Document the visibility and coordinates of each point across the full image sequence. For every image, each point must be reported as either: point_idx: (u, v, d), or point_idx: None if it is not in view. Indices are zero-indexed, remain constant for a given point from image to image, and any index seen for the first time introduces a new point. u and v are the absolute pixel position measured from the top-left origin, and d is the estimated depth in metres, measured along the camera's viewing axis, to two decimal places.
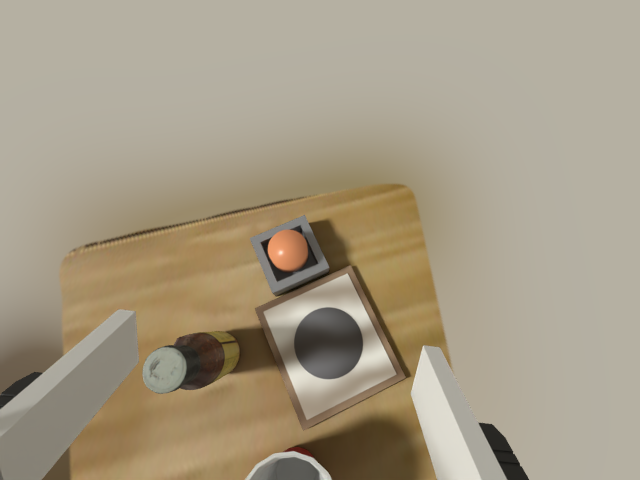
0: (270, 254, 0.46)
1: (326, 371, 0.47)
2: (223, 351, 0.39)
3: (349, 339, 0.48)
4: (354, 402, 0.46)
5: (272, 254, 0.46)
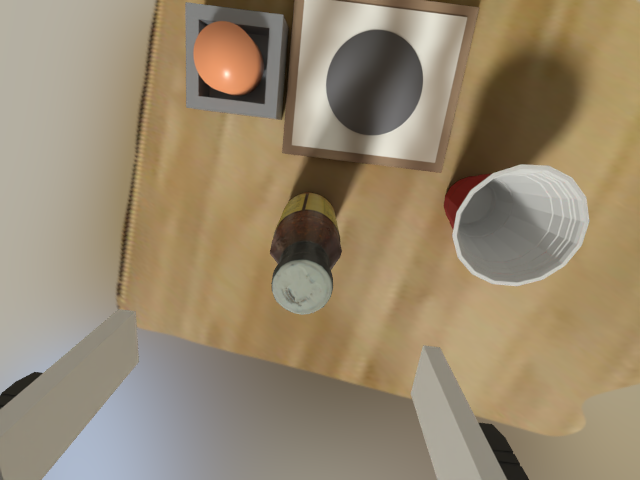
0: (222, 88, 0.30)
1: (403, 109, 0.35)
2: (314, 211, 0.30)
3: (388, 54, 0.33)
4: (456, 96, 0.35)
5: (223, 85, 0.30)
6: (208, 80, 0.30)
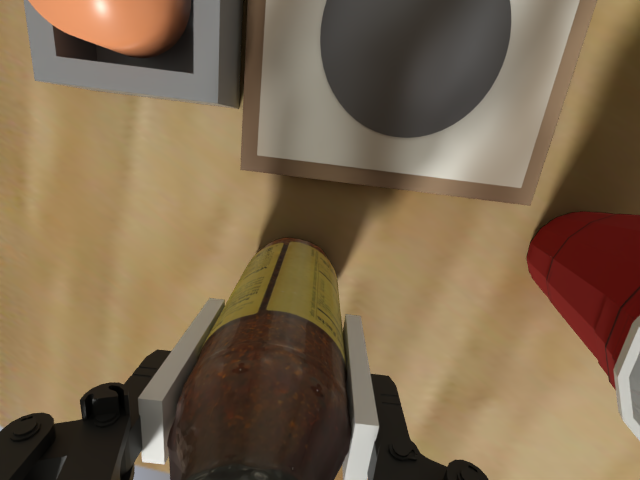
0: (82, 31, 0.13)
1: (469, 87, 0.18)
2: (287, 315, 0.13)
3: None
4: (572, 63, 0.18)
5: (84, 24, 0.13)
6: (49, 12, 0.13)
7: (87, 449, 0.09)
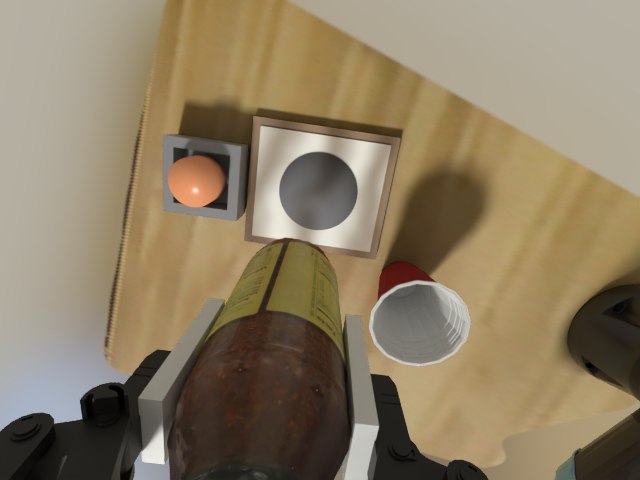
0: (190, 204, 0.38)
1: (342, 211, 0.43)
2: (286, 315, 0.13)
3: (328, 170, 0.41)
4: (385, 202, 0.43)
5: (191, 202, 0.38)
6: (179, 198, 0.38)
7: (87, 449, 0.09)
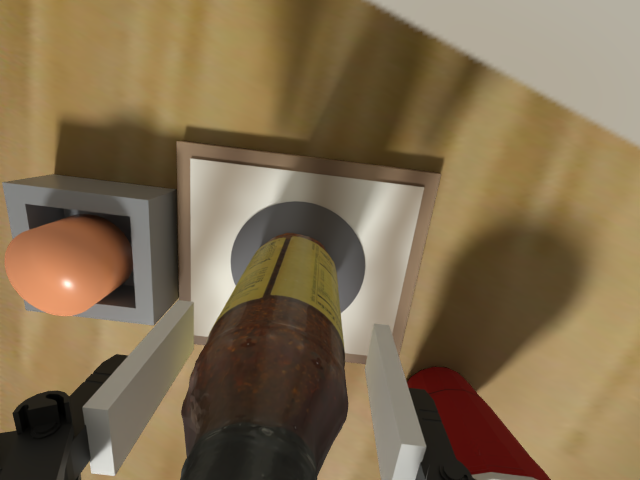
0: (55, 311, 0.20)
1: (340, 296, 0.25)
2: (289, 299, 0.14)
3: (314, 231, 0.24)
4: (413, 281, 0.25)
5: (56, 308, 0.20)
6: (34, 301, 0.20)
7: (24, 463, 0.08)
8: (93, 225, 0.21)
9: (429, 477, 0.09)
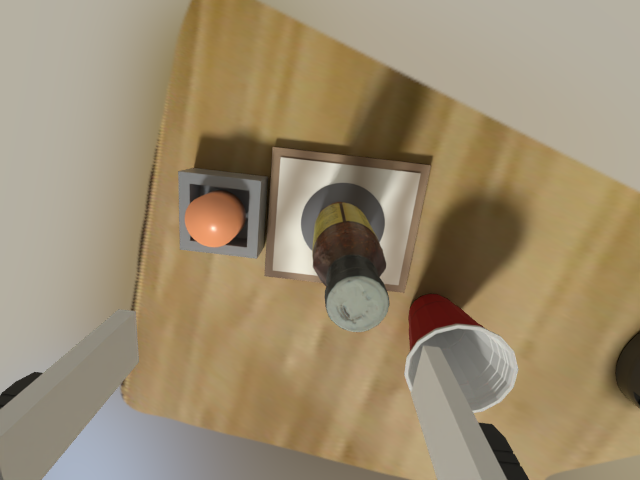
0: (209, 244, 0.36)
1: None
2: (355, 222, 0.29)
3: (353, 201, 0.39)
4: (415, 233, 0.40)
5: (210, 242, 0.35)
6: (197, 238, 0.35)
7: None
8: (228, 195, 0.36)
9: None
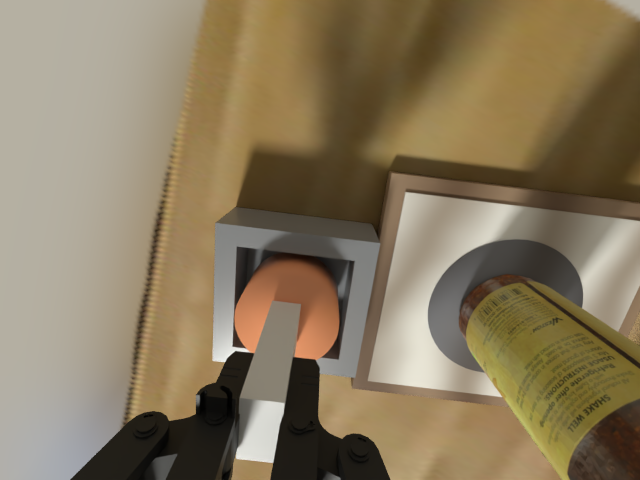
0: None
1: None
2: None
3: (532, 272, 0.21)
4: (629, 325, 0.22)
5: None
6: None
7: (197, 444, 0.09)
8: (315, 266, 0.19)
9: (280, 436, 0.10)
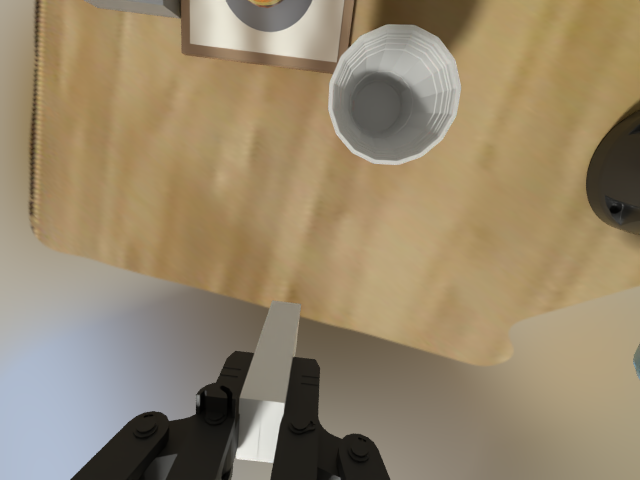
0: None
1: (299, 2, 0.34)
2: None
3: None
4: None
5: None
6: None
7: (197, 444, 0.09)
8: None
9: (280, 436, 0.10)
